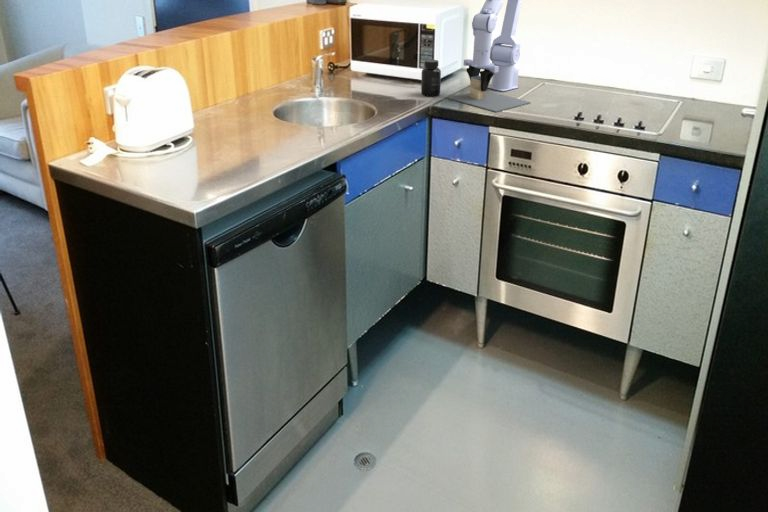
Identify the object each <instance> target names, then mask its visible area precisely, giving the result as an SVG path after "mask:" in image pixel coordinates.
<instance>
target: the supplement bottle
mask: <svg viewBox="0 0 768 512" xmlns="http://www.w3.org/2000/svg"><path fill="white" fill-rule="evenodd" d="M441 70H442V69H441V68H439V60H438V59H425V60H424V68H422V70H421V83H420V84H421V86H420V87H421V88H420V91H421V92H420V93H421V95H422V96H423V97H430V98H434V97H438V96H439V95H441V83H442V82H441V80H442V71H441Z"/></svg>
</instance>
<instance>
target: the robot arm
mask: <svg viewBox="0 0 768 512" xmlns="http://www.w3.org/2000/svg"><path fill="white" fill-rule="evenodd" d="M522 3H523V0H507V2H506V7H505V12H504V16H503V17H504V18H503V21H502V27H501V31H500V35H498V36H497V37H496V38H494V39H493V41H492V33H493V32H494V31H495V29H496V25H497V20H498V15H499V13H500V10H501V9H502V7H503V4H504V2H503V0H485V1H484V3H483V5H482V7H481V9H480V11H479V12H478V13H477V14H475V15H474V16H473V18H472V21H471V27H472V35H473V36H474V40H473V52H472V53H473V54H472V55H473V56H472V59H467V58H466V59H463V66H464V67H466V66H467V68H466V73H467V76H468V78H469V81H470V83H471V77H474V76H478V75H479V76H481V91H488V89H491V90H495V91H499V92H506V91H511V90H514V89H518V88H520V86H518V82H519V81H518V80H519V70H520V69H519V66H518V65H517V63H518V62H519V59H520V56H521V55H520V54H521V53H520V52H521V51H520V48H521V43H520V41H518V40H517V38H516V36H515V35H516V31H517V26H518V21H519V18H520V17H519V16H520V14H521V13H520V12H521V8H522V7H521V6H522ZM490 62H491V63H490ZM490 81H491V85H489V84H490Z"/></svg>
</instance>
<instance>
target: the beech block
mask: <svg viewBox="0 0 768 512" xmlns="http://www.w3.org/2000/svg"><path fill="white" fill-rule="evenodd" d="M469 93H470V97H471V98H475V99H481V98H486V91H481V75H480V74H479V75H478V76H474V77H471V82H470V86H469Z"/></svg>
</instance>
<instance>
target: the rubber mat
mask: <svg viewBox="0 0 768 512" xmlns="http://www.w3.org/2000/svg"><path fill="white" fill-rule="evenodd" d="M448 99H449V100H452V101H455V102H458V103H462V104H465V105H468V106H473V107H476V108H480V109H483V110H486V111H489V112H493V113H500V112H503V110H504V111H507V109H508V110H510V109H515V108H519V107H522V106H521V105H523V106H526V105H529V104H528V103H530V104H531V101H527V100H523V99H519V98H515V97H513V96H508V95H505V94H501V93H497V92H494V91H489V90H487V91H486V98H481V99H475V98H471V97H470V92H466V93H463V94H459V95H454V96H450V97H448ZM525 104H526V105H525ZM518 106H519V107H518Z"/></svg>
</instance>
